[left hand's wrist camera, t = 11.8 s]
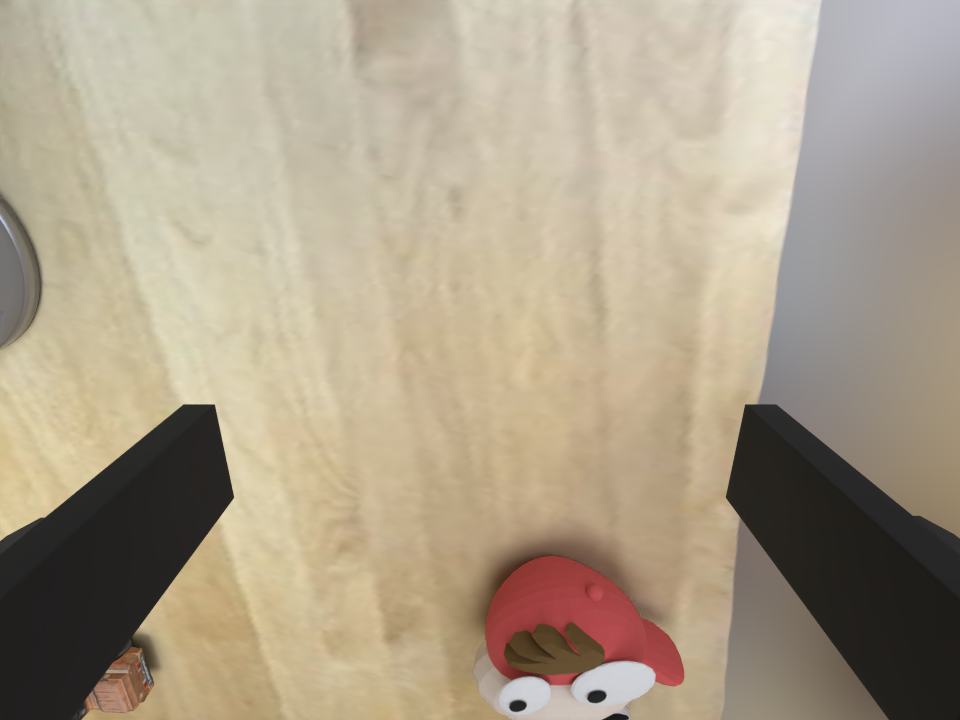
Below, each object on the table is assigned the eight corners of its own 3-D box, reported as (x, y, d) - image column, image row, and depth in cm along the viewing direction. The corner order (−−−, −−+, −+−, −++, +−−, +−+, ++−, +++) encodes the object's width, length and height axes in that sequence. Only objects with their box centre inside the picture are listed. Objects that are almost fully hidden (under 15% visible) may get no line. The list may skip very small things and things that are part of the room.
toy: (482, 854, 48) (475, 662, 34) (472, 735, 57) (465, 545, 43) (669, 828, 50) (736, 634, 36) (632, 716, 59) (674, 526, 45)
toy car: (168, 673, 51) (123, 747, 44) (54, 685, 51) (-8, 760, 45) (144, 625, 48) (93, 697, 42) (25, 638, 49) (-45, 711, 42)
